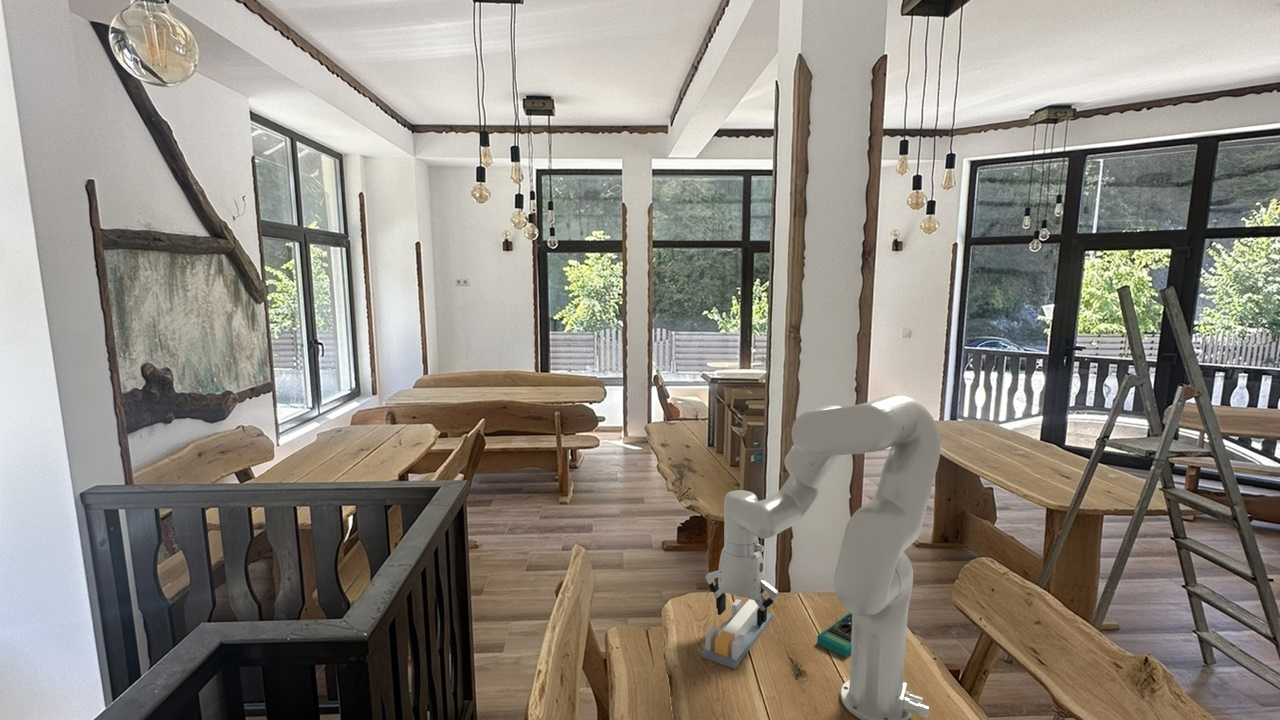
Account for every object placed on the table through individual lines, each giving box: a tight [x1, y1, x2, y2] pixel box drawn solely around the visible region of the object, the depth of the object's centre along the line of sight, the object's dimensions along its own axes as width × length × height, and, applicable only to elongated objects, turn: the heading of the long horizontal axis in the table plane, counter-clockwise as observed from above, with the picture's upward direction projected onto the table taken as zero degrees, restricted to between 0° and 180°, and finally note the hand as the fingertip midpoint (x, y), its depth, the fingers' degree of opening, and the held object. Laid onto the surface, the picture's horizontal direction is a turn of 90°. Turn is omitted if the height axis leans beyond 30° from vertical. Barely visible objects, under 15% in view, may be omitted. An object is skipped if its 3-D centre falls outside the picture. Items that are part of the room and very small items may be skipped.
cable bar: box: [715, 599, 759, 657], centre depth 134 cm, size 3×20×3 cm, turn 148°
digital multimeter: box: [816, 612, 853, 658], centre depth 134 cm, size 7×15×3 cm, turn 132°
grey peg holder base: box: [700, 598, 774, 670], centre depth 134 cm, size 8×23×4 cm, turn 148°
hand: (741, 617), depth 134 cm, fingers open, 9 cm apart
